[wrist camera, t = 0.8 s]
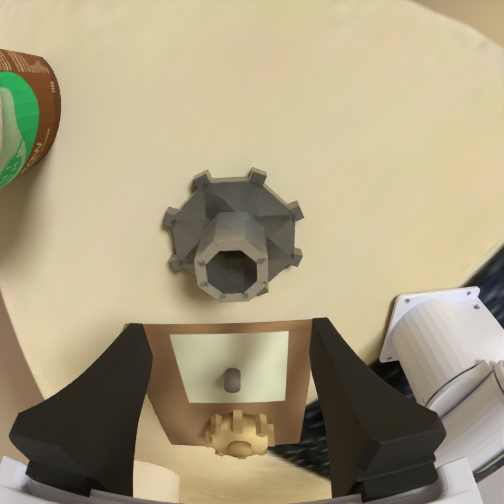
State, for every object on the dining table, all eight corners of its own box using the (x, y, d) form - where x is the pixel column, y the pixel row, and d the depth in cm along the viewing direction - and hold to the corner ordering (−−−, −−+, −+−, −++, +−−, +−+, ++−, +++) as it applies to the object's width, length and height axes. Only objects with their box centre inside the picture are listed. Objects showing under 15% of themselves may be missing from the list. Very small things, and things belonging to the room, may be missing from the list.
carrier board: (313, 319, 26) (323, 358, 22) (298, 436, 36) (302, 466, 32) (125, 323, 26) (110, 361, 22) (172, 437, 36) (168, 467, 32)
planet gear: (302, 166, 20) (318, 189, 16) (298, 286, 25) (309, 330, 20) (159, 173, 20) (136, 199, 16) (178, 291, 25) (166, 335, 20)
